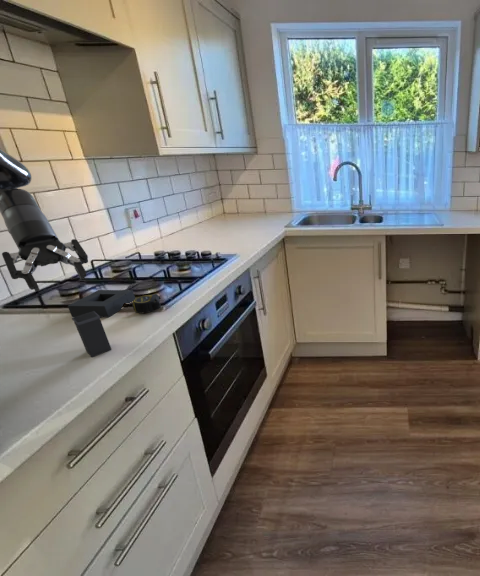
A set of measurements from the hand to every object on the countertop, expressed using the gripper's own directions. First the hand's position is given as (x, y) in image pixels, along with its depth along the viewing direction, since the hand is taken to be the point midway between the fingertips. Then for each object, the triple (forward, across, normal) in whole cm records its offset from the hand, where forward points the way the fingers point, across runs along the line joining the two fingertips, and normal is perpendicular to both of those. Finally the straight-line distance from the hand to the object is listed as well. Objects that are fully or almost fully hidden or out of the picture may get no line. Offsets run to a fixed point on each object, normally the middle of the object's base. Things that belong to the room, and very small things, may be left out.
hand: (61, 283), depth 85 cm
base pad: (0, +9, +22) cm, 23 cm away
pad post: (+18, +1, +3) cm, 18 cm away
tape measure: (+8, +17, +13) cm, 23 cm away
